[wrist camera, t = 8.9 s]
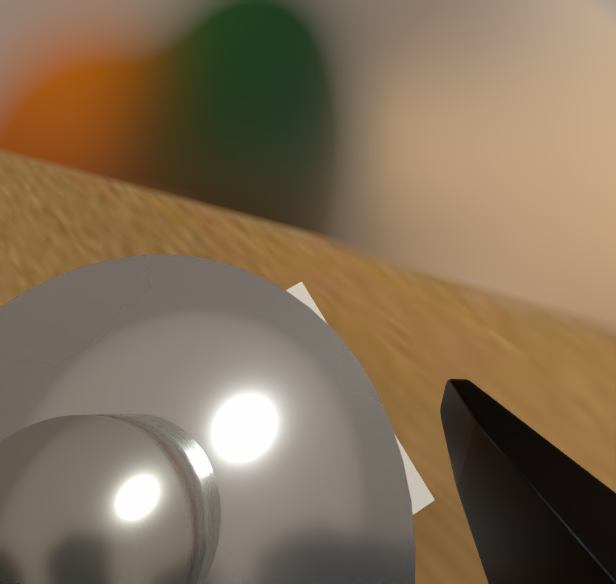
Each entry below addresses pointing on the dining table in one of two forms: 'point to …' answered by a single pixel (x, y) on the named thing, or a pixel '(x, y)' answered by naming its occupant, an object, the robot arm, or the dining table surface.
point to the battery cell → (191, 436)
